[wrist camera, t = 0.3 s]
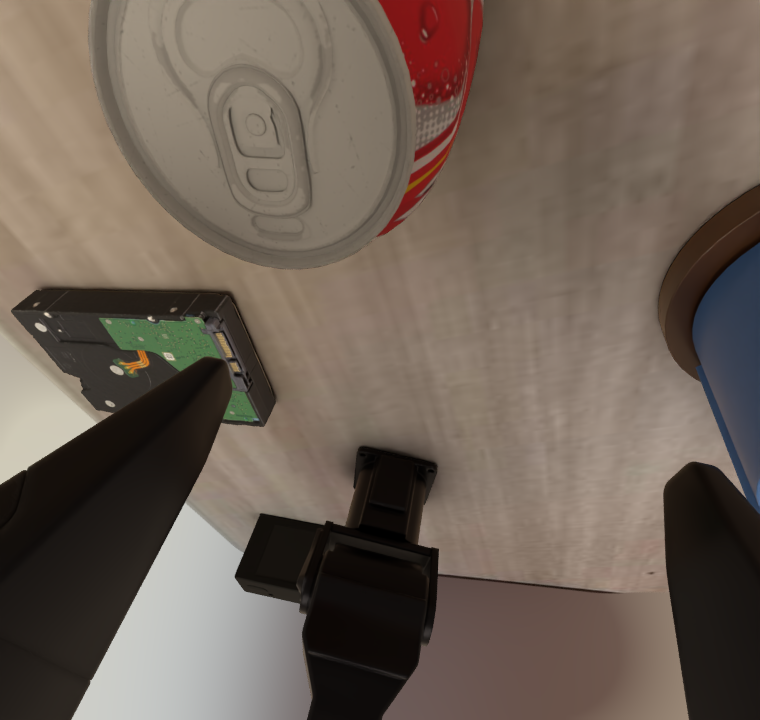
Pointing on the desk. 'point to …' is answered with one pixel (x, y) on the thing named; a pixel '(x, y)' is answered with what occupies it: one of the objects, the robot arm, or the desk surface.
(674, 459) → the desk surface
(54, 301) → the disk drive
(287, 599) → the digital camera
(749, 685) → the robot arm
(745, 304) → the towel roll
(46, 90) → the desk surface
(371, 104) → the soda can
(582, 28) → the desk surface
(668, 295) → the holder
